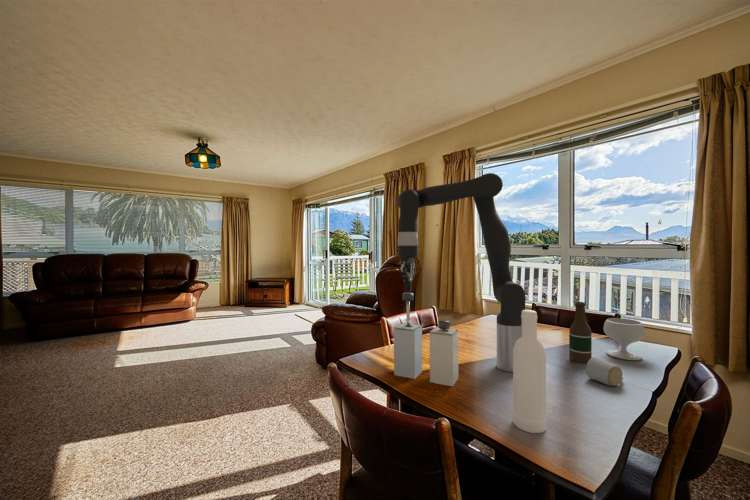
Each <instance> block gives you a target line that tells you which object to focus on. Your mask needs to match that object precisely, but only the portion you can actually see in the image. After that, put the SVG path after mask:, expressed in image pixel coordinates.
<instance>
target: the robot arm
mask: <svg viewBox="0 0 750 500" xmlns="http://www.w3.org/2000/svg"><path fill="white" fill-rule="evenodd" d="M503 186H504V183H503V180H502V178H501V176H499V175H498V174H497V173H493V172H489V173H484V174H483V175H480V176H478V177H474V178H471V179H468V180H463V181H459V182H458V181H456V182H452V183H446V184H439V185H437V184H436V185H432V186H427V187H424V188H422V189H418V190H417V189H416V190H414V189H411V188H408V189H405V190H403V191H402V192H400V193H399V195H398V196H397V197H396V198H397V199H396V205H397V207H398V208H399V211H400V212H399V213H400V216H399V219H398V222H397V223H398V224H397V225H398V227H397V230H398V232H397V233H398V234H397V257H398V258H401V262H400V266H398V272H399V274H400V279H401V280H402V281H403V282H404V291H405V293H411V291H412V290H413V289H412V281H413V279H415V275H416V271H417V268H418V266H417V265H416V264H415V258H418V257H419V236H418V215H419V210H420V208H423V207H430V206H436V205H442V204H447V203H451V202H455V201H459V200H460V199H467V198H473V201H474V204H475V208H476V210H477V214H478V217H479V218H478V219H479V223H480V228H481V232H482V239H483V243H484V248H485V253H486V255H487V260H488V265H489V268H490V272H491V273H490V275H491V282H492V284H491V285H492V291H493V293H492V294H493V296H494V299H496V301H497V302H498V303H500V312H499V313H498V314H497V315H496V368H497V369H499V370H500V371H504V372H507V373H513V348H514V345H515V343H516V341H517V340H518V339H519V338H521V337H522V318H521V314H522V311H523V310H526V291H525V289H524V287H523V286H522V285H521V284H520V283H517V282H513V278H512V276H511V275H512V274H511V272H510V271H511V270H510V259H511V253H512V245H511V239H510V236H509V235H510V234H509V231H508V228H507V226H506V224H505V223H504V221H503V219H502V218H501V216H500V215H499V213H498V212H497V208H496V204H495V198H494V197H495V196H498V195H499V194H500V193H501V191H502V189H503Z"/></svg>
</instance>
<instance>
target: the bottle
mask: <svg viewBox="0 0 750 500" xmlns="http://www.w3.org/2000/svg"><path fill="white" fill-rule="evenodd" d="M521 318H522V337H521V338H519V339H518V340H517V341H516V343H515V345H514V348H513V372H512V385H513V386H512V396H513V397H512V399H513V403H512V418H513V420H512V421H513V422H512V423H513V424H514V426H516V427H517V428H518V429H519V430H522V431H523V432H526V433H530V434H540V433H544V432H545V431H546V430H547V352H546V349H545V348H546V347H545V346H544V344H543V342H541V341H540V340H539V339H538V312H537V311H536V310H531V309H525V310H523V311H522V314H521Z"/></svg>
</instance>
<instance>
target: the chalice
mask: <svg viewBox="0 0 750 500" xmlns="http://www.w3.org/2000/svg"><path fill="white" fill-rule="evenodd" d="M603 333H605V335H606V336H607V337H609V338H610V339H611V340H613V341H615V342H617V343H618V345H620V349H619V350H615V349H610V350H607V351H605V353H606V355H608V356H610V357H612V358H616V359H621V360H625V361H641V360H642V359H643V357H642V356H641V355H639V354H636V353H634V352H629V351H628V349H627V347H628V346H629V345H631V344H633V343H637V342H641V341H642V340H644V338H645V337H646V330H645V327H644V325H643V323H642V322H641V321H639V320H636V319H635V320H634V319H630V318H622V317H620V318H619V317H608V318H607V319H606V320H605V321H604V324H603ZM633 354H635V355H636V356H635V357H633V356H634V355H633ZM631 356H632V357H631Z"/></svg>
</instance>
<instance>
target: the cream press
mask: <svg viewBox="0 0 750 500" xmlns="http://www.w3.org/2000/svg"><path fill="white" fill-rule="evenodd" d="M458 379H459V328H452V327H450V329H446V332H444V331H442V329H440V328H438V326H435V327H434V328H432V329H431V330H430V331H429V383H433V384H437V385H438V384H439V385H442V386H443V385H444V386H447V387H448V386H449V387H452V388H453V387H454V386H455V384H456V382H457V380H458Z"/></svg>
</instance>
